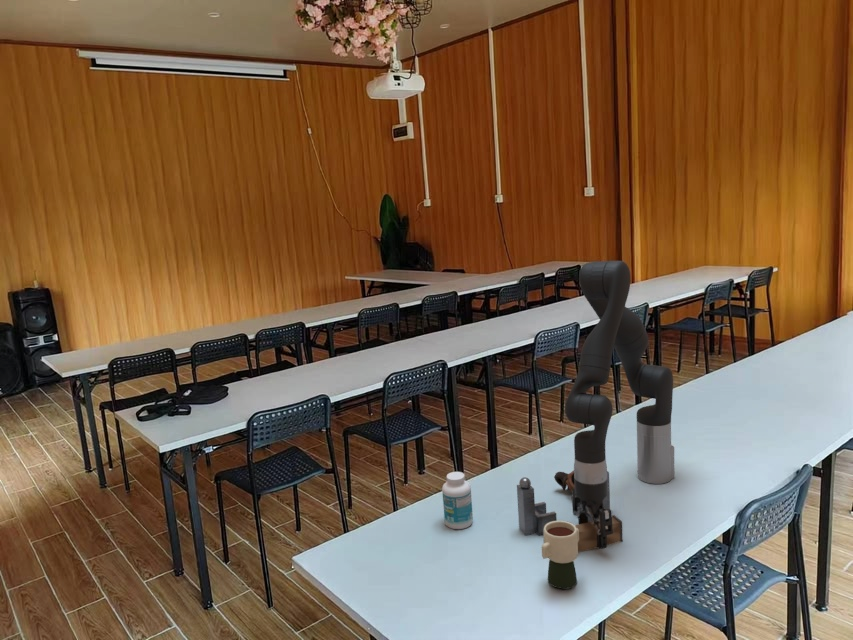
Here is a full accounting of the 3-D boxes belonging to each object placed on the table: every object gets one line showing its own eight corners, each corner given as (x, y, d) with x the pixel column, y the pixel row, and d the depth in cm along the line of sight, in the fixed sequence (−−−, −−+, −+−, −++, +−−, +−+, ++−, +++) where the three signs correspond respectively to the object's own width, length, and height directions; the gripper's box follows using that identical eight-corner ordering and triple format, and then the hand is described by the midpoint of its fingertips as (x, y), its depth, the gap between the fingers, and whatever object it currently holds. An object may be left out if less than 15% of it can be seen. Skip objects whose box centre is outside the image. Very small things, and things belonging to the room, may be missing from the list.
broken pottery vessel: (597, 488, 187) (602, 471, 181) (589, 515, 180) (594, 498, 175) (556, 474, 191) (559, 457, 185) (547, 500, 184) (550, 483, 179)
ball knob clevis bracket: (599, 506, 175) (598, 456, 172) (613, 518, 169) (612, 465, 166) (516, 526, 169) (513, 473, 166) (527, 538, 163) (524, 484, 160)
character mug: (567, 566, 150) (565, 514, 147) (592, 580, 144) (590, 525, 141) (532, 585, 144) (529, 531, 141) (556, 600, 138) (553, 544, 135)
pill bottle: (440, 520, 175) (436, 473, 172) (466, 513, 177) (462, 466, 175) (451, 533, 168) (447, 484, 165) (477, 526, 170) (474, 477, 168)
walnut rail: (614, 534, 161) (614, 515, 160) (622, 541, 158) (622, 521, 157) (563, 547, 158) (562, 527, 156) (570, 554, 154) (569, 534, 153)
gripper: (621, 485, 149) (623, 550, 152) (589, 461, 162) (590, 522, 165) (592, 491, 147) (594, 557, 150) (561, 467, 160) (563, 528, 163)
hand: (592, 539), depth 157 cm, fingers open, 8 cm apart
